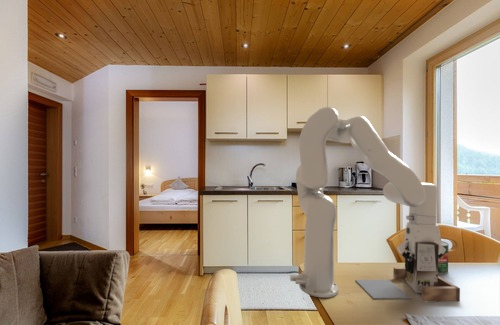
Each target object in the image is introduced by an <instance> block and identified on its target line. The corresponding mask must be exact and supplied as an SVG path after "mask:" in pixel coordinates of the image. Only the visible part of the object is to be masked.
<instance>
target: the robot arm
mask: <svg viewBox="0 0 500 325" xmlns="http://www.w3.org/2000/svg"><path fill="white" fill-rule="evenodd" d="M327 140H328V141H332V142H336V143H341V144H351V146H352V147H353V149H354V151H356V153H357V155H358V156H359V157H360V159H361V160H362V162H363V163H364V164H365V166H367V167H368V168H369V169H371V170H373V171H374V172H377V173H378V174H379V175H382V176H383V177H384V178H386V179H387V180H388V181H389V182H387V183H386V184H385V185H384V186H383V187H382V188H383V189H382V194H383V196H384V198H386V200H388V201H389V202H392V203H395V204H399V205H403V206H407V207H409V211H408V212H409V213H408V215H406V216H405V218H406V220H408V221H407V222H406V226H405V229H404V230H405V231H404V237H403V238H404V239H403V242H402V243H401V244H399V245H398V246H397V247H396V249H397V250H398V252H399V254H400V255H401V256H402V257H403V259H404V267H405V270H406V271H408V272H409V273H411V274H413V270H414V262H413V261H412V260H413V258H414V255H416V243H424V242H430V243H431V242H432V243H436V244H438V245H439V254H438V262H439V259H440V258H441V257H442V256H443V254H444V252H445V251H446V249H445V248H444V247H443V246H442V245H441V241H442V236H441V230H440V226H439V224H437V209H438V208H437V205H438V204H437V203H438V187H437V185H436V184H434V183H431V182H421V180H420V179H419V177H418V176H417V174H416V173H415V172H414V170H412V169H411V167H410V166H408V165H407V164H406V163H405V162H404V161H403V160H401V159H400V158H399V157H398V156H396V155H395V154H394V153H392V152H391V151H390V150H389V149H388V147H387V146H386V143H385V142H384V141H383V139H382V138H381V137H380V135H379V134H378V132H377V131H376V129H375V127H374V126H373V125H372V124H371V122H370V120H368V119H367V118H366V117H365V116H359V115H358V116H354V117H350V118H348V119H340V115H339V113H338V110H336V109H335V108H333V107H331V106H325V107H321V108H319V109H318V110H317V111H315V112H314V113H313V114H311V115H310V116H309V118H308V119H307V120H306V122H305V123H304V125H303V127H302V129H301V132H300V135H299V142H298V144H299V145H298V147H299V148H298V150H299V159H300V161H299V162H300V165H299V166H298V168H297V169H296V173H295V180H296V189H297V196H298V204H299V207H300V210H301V211H302V212H303V214H304V215H305V216H306V217H305V225H304V250H303V251H304V255H303V257H304V262H303V263H304V264H303V265H304V268H303V270H301V273H298V274H297V275H296V274H290V275H289V280H290V282H294V283H295V285H299V288H300V290H301V291H302V292H303V293H305V294H306V295H309V296H311V297H316V298H321V299H323V298H324V299H325V298H327V299H328V298H333V297H335V296H337V295H338V293H339V286H338V284H337V283H336V282H334V275H335V274H334V273H335V271H334V269H335V268H334V267H335V262H334V261H335V228H336V220H337V206H336V204H335V201H334V200H333V199H332V198H331V197H330V196H328V195H327V194H324V188H325V187H326V186H328V183H329V182H330V173H329V168H328V160H327V151H326V150H327V149H326V146H327V145H326V144H327ZM406 250H407V251H406ZM410 253H411V254H410ZM409 254H410V255H409Z"/></svg>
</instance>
